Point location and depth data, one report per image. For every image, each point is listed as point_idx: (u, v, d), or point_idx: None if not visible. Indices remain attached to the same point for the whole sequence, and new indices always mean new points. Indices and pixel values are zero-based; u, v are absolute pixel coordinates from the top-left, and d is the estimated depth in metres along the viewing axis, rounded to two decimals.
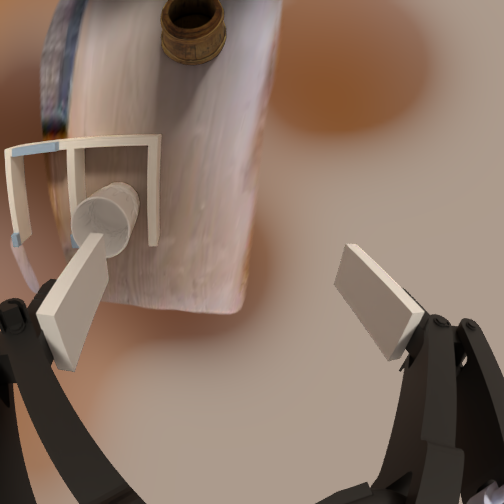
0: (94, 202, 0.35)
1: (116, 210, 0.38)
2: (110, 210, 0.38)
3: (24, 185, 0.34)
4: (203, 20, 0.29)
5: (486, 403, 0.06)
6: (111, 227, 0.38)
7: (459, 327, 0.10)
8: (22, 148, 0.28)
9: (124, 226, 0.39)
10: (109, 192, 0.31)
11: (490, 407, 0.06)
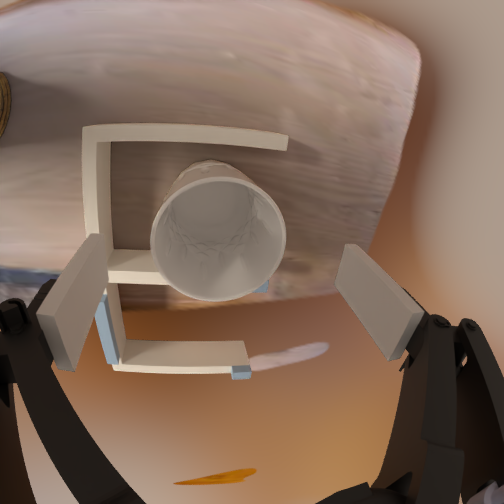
0: (195, 241, 0.23)
1: (216, 202, 0.24)
2: (215, 213, 0.24)
3: (171, 343, 0.31)
4: None
5: (486, 403, 0.06)
6: (245, 215, 0.24)
7: (459, 327, 0.10)
8: (105, 349, 0.24)
9: (245, 191, 0.23)
10: None
11: (490, 407, 0.06)
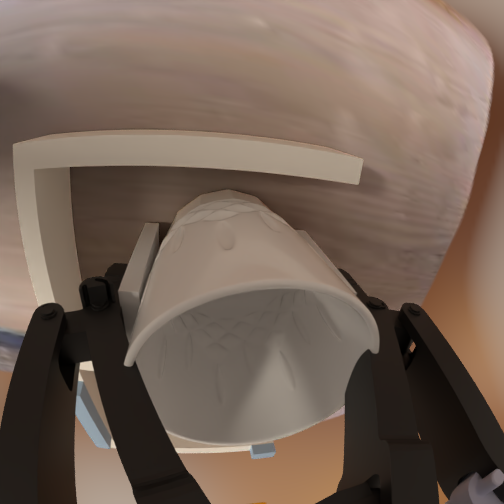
0: (204, 320, 0.15)
1: None
2: None
3: None
4: None
5: (448, 395, 0.07)
6: None
7: (401, 314, 0.10)
8: (91, 436, 0.16)
9: None
10: None
11: (454, 399, 0.06)
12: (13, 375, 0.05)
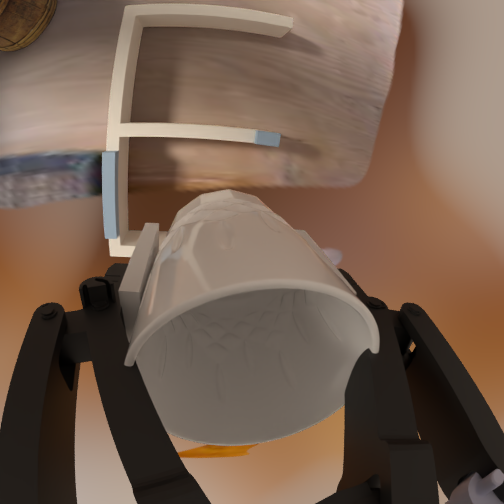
0: (204, 320, 0.15)
1: None
2: None
3: None
4: None
5: (448, 395, 0.07)
6: None
7: (401, 314, 0.10)
8: (105, 216, 0.24)
9: None
10: None
11: (454, 399, 0.06)
12: (13, 375, 0.05)
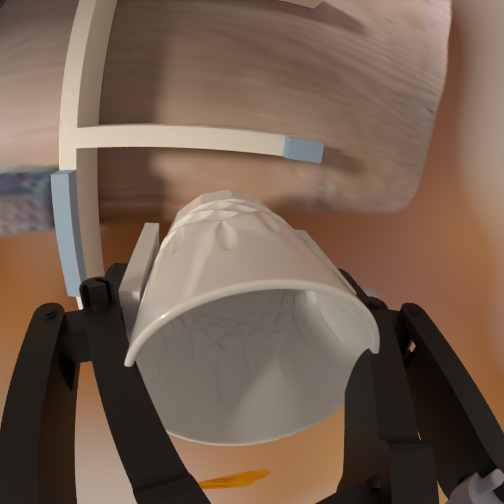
0: (204, 321, 0.15)
1: None
2: None
3: None
4: None
5: (448, 395, 0.07)
6: None
7: (401, 314, 0.10)
8: (64, 267, 0.15)
9: None
10: None
11: (454, 399, 0.06)
12: (13, 375, 0.05)
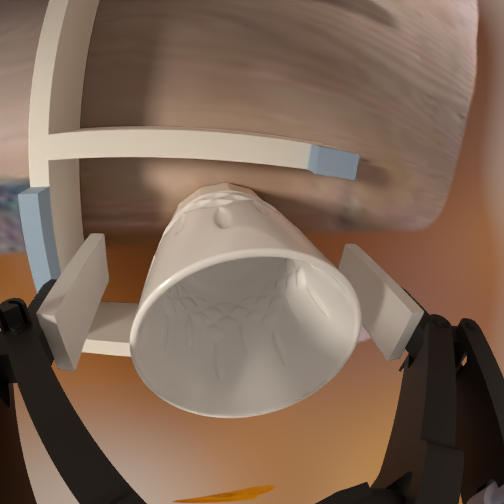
0: (203, 304, 0.16)
1: None
2: (232, 262, 0.17)
3: None
4: None
5: (486, 403, 0.06)
6: (275, 266, 0.17)
7: (459, 327, 0.10)
8: None
9: None
10: None
11: (490, 407, 0.06)
12: None
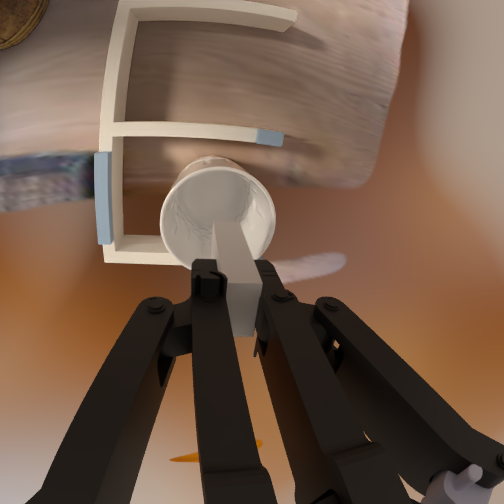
0: (197, 226, 0.26)
1: (217, 192, 0.27)
2: (216, 202, 0.27)
3: None
4: None
5: (394, 399, 0.07)
6: (242, 204, 0.27)
7: (316, 312, 0.10)
8: (98, 221, 0.22)
9: (243, 182, 0.26)
10: None
11: (402, 402, 0.06)
12: (105, 362, 0.06)
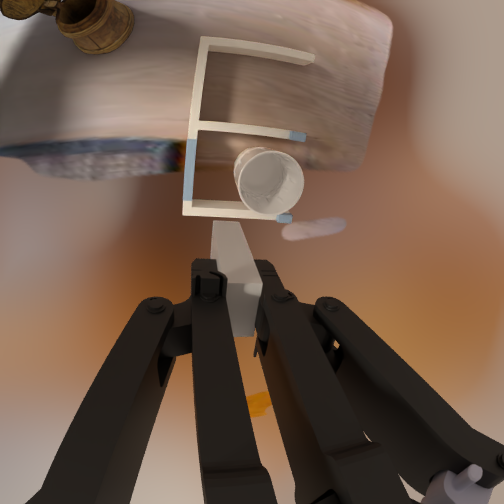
0: (249, 191, 0.40)
1: (261, 170, 0.40)
2: (260, 177, 0.41)
3: (228, 201, 0.43)
4: None
5: (394, 399, 0.07)
6: (278, 178, 0.40)
7: (316, 312, 0.10)
8: (185, 184, 0.36)
9: (279, 164, 0.39)
10: (238, 170, 0.34)
11: (402, 402, 0.06)
12: (105, 362, 0.06)
